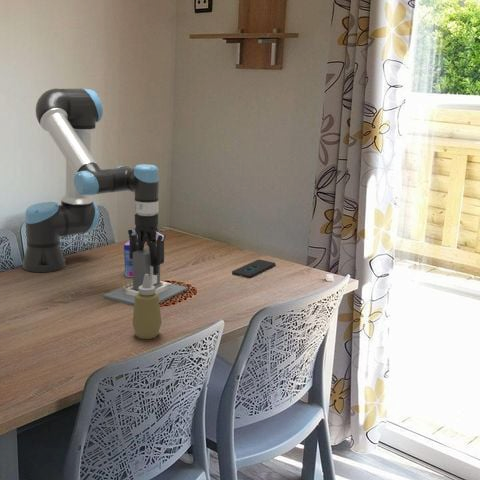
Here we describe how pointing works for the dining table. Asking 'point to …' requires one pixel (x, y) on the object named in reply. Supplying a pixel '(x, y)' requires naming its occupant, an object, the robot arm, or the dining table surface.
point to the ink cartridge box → (128, 261)
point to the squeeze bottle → (146, 311)
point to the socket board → (129, 293)
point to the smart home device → (253, 268)
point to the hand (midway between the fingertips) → (146, 281)
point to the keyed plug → (142, 267)
